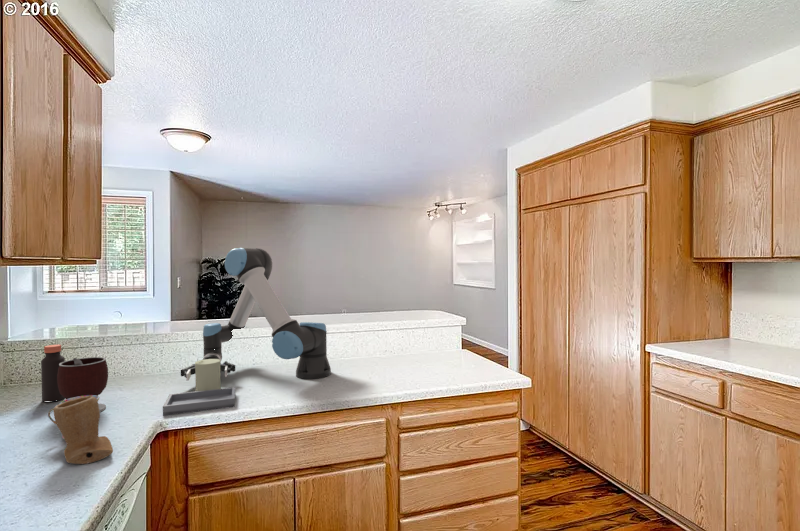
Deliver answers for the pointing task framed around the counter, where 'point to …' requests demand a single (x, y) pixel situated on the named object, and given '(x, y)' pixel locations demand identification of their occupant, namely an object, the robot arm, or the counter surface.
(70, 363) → the mate gourd
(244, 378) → the counter surface
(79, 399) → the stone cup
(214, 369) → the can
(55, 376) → the bottle
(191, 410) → the tray
